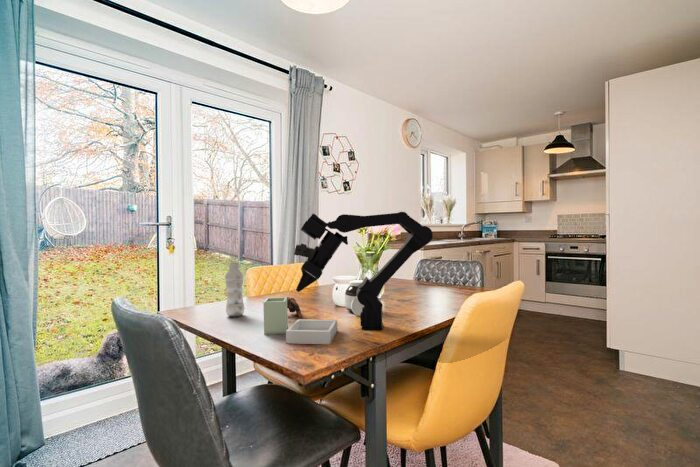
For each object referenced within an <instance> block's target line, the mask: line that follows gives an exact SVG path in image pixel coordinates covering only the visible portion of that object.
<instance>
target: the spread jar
mask: <svg viewBox="0 0 700 467" xmlns="http://www.w3.org/2000/svg"><path fill="white" fill-rule="evenodd" d="M363 280H364V279H363ZM363 280H362V279H355V280H350V281H349V284H348V285H349V286H348V287H347V289H346V290H345V293H344V305H345V308H346V310H347V311H348V312H349V313H351V314H355V315H356V316H359V317H360V314H361V312H362V308H363V307H364V305H362V304H360V302H359V301H358V298H357V294H356V292H357V289H358V285H359V284H361V283H362V282H363Z"/></svg>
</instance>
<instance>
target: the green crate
mask: <svg viewBox="0 0 700 467" xmlns="http://www.w3.org/2000/svg"><path fill="white" fill-rule="evenodd" d="M287 297H288V296H286V297H267V298H266V299H265V300H264V301H263V302H262V303H263V304H262V305H263V331H264V332H263V334H264V336H267V335H286V330H287V329H288V328H289V326H288V324H289V322H288V320H289V319H288V308H287Z"/></svg>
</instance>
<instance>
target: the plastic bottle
mask: <svg viewBox="0 0 700 467" xmlns="http://www.w3.org/2000/svg"><path fill="white" fill-rule="evenodd" d="M224 281H225V285H226V306H225V312H226V315H227V316H228V317H232V318H233V317H236V316H237V317H240V316H243V314H244V313H245V303H244V298H243V283H244V274H243V273H242V271H241V270H240V262H239V261H238V262H237V261H234V262H228V271H227V272H226V273H225V275H224Z"/></svg>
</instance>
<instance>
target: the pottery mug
mask: <svg viewBox="0 0 700 467" xmlns="http://www.w3.org/2000/svg"><path fill="white" fill-rule="evenodd" d="M286 297H287V309H288V310H289V313H295V312H296V315H297V316H298V318H299V319H300V318H301V317H302V315H303V314H302V311H301V308H300V306H299V303H297V301H296V299H295V298H294V297H289V296H286Z"/></svg>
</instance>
